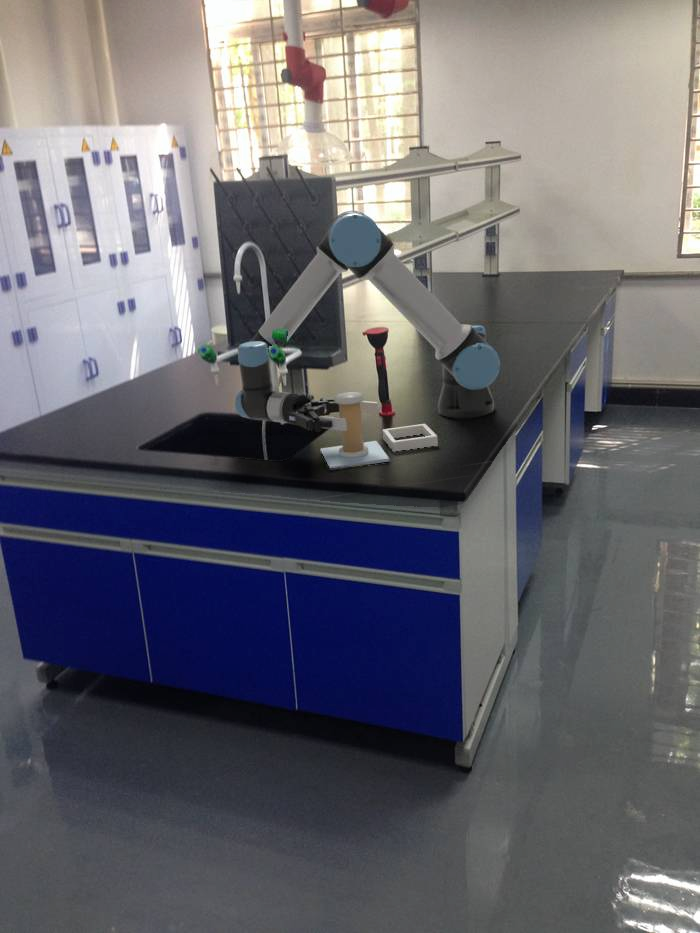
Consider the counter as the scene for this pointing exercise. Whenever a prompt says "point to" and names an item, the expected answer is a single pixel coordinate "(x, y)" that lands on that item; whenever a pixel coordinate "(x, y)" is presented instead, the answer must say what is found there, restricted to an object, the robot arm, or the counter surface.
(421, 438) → the collar
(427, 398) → the counter surface
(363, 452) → the spool
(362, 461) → the pad
